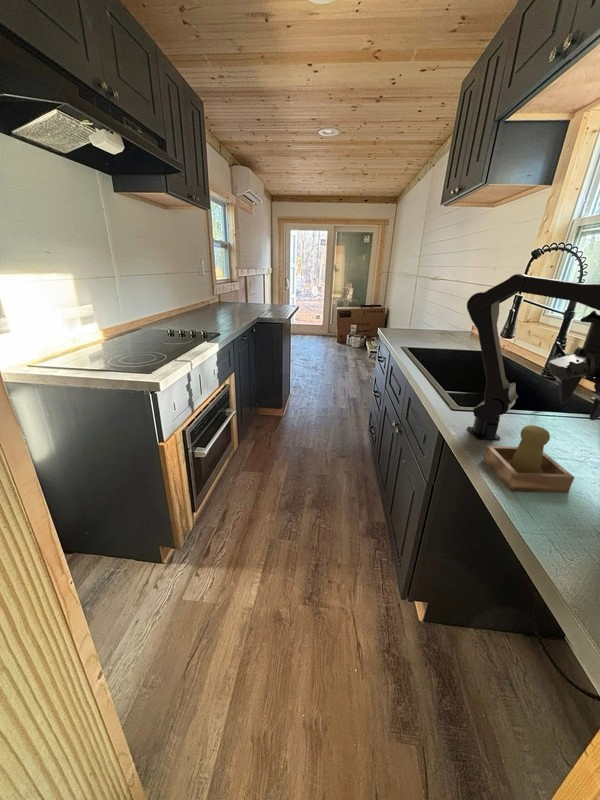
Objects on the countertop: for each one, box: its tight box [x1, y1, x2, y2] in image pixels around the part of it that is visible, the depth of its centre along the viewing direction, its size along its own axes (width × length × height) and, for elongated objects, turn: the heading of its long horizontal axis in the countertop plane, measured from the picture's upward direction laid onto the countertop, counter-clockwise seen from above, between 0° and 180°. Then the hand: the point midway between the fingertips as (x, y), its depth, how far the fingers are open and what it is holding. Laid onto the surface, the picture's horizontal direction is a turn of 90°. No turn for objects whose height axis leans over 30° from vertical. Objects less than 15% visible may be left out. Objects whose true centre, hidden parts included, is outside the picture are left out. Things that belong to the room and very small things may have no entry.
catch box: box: [482, 445, 575, 494], centre depth 74 cm, size 12×12×4 cm
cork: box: [509, 424, 551, 473], centre depth 72 cm, size 6×6×11 cm
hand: (576, 411), depth 76 cm, fingers open, 9 cm apart
